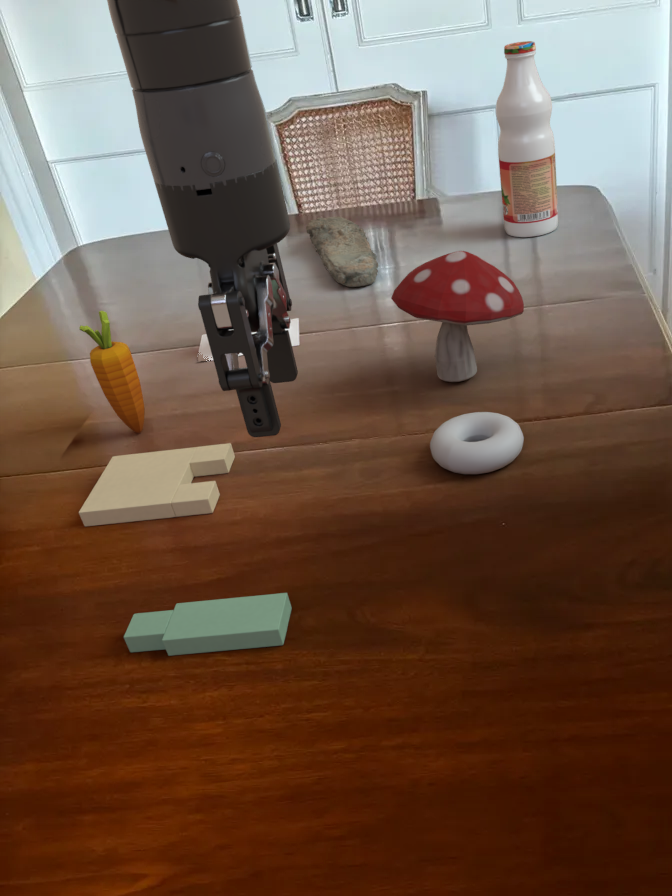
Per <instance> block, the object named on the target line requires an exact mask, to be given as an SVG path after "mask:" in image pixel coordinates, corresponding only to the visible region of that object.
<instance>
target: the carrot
mask: <svg viewBox="0 0 672 896" xmlns="http://www.w3.org/2000/svg"><path fill="white" fill-rule="evenodd" d="M98 317H99V321H100V324H101V332H100V331H99V329H95V331H94V330H93V328H91V327H90V326H89V325H80V326H79V331H80V332H83V333H85V334H87V335H88V336H89V337H90V338H91V339H92V340H93V341H94V342H95V343H96V345H97V346H95V347H93V348H92V349H91V350H90V352H89V359H90V365H91V368H92V370H93V373H94V375H95V377H96V380H97V381H98V384H99V386H100V388H101V391H102V393H103V395H104V397H105V398H106V400H107V402H108V403H109V405H110V407H111V408H112V409H113V411H114V413H115V414H116V415H117V416H118V418H119V419H120V420H121V422H122V423H123V424H124V425H125V426H127V428H129V429H130V430H131V431H132V432H134V433H136V434H138V435H140V434H141V433H142V432H143V430H144V424H145V411H146V410H145V402H144V401H145V400H144V395H143V389H142V386H141V381H140V376H139V373H138V370H137V366H136V364H135V361H134V358H133V355H132V352H131V349H130V347H129V345H128V344H127V343H125V342H121V341H112V334H111V326H110V324H111V322H110V319H109V316H108V312H107V311H104V310H99V311H98Z"/></svg>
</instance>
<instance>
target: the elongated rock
mask: <svg viewBox="0 0 672 896" xmlns="http://www.w3.org/2000/svg"><path fill="white" fill-rule="evenodd" d="M305 230H306V234H309V239H310V240H311V244H312V245H313V246H314V247H313V248H314V249H315V253H318V254H319V256H320V258H321V261H322V265H323V266H324V267H325V269H326V270H328V272H329V274H330V276H331V277H332V278H333V279H334V280H335V282H337V284H341V285H342V286H346V287H348V288H350V287H351V288H355V287H356V288H357V287H359V288H360V287H364V286H369V285H372V284H374V283H375V281H376V278H377V276H378V273H379V270H378V267H379V264H378V261H377V257H378V256H377V254H376V253H375V252H374V251H373V250H372V248H371V244H370V241H369V240H368V237H367V236H366V231H365V230H364V229H363V228H361V227H360V226H359V224H357V223H355V222H354V221H351V220H349V218H345V217H342V216H329V217H316V219H310V220H309V222H308V223H307V224H306V225H305Z"/></svg>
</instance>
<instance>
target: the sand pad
mask: <svg viewBox="0 0 672 896" xmlns="http://www.w3.org/2000/svg"><path fill="white" fill-rule="evenodd" d="M235 455H236V454H235V452H234V449H233V446H232V443H231V442H229V443H228V442H227V443H220V444H219V443H218V444H211V445H203V446H202V445H200V446H194V447H193V446H192V447H185V448H183V447H182V448H176V449H167V450H166V449H165V450H158V451H157V450H156V451H149V452H139V453H138V452H137V453H132V454H131V453H130V454H121V455H113V456H112V457H111V458H110V460H109V462H108V463H107V465H106V467H105V468H104V470H103V471H102V473H101V475H100V477H99V478H98V480H97V481H96V483H95V485H94V486H93V488H92V489H91V491H90V493H89V495H88V496H87V498H86V500H85V501H84V503H83V504H82V506H81V508H80V509H79V511H78V515H79V517H80V519H81V522H82V524H83V526H84V528H85V527H94V526H95V527H96V526H103V525H113V524H123V523H132V522H141V521H150V520H151V521H152V520H161V519H170V518H178V517H188V516H197V515H199V516H200V515H208V514H213V513H214V511H215V508H216V506H217V503H218V501H219V499H220V496H221V493H220V490H219V488H218V485H217V481H216V480H208V481H201V482H193V480H194V477H195V478H196V477H203V476H204V477H205V476H213V475H214V476H215V475H222V474H223V475H224V474H229V473H230V471H231V468H232V465H233V463H234V460H235V458H236V456H235Z"/></svg>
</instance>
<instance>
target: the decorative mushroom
mask: <svg viewBox="0 0 672 896" xmlns="http://www.w3.org/2000/svg"><path fill="white" fill-rule="evenodd" d="M390 299H391V300H392V302H393V303H394V304H395V305H396V306H397V308H398V309H399V310H401V311H403V312H405V313H406V314H408V315H409V316H412V317H414V318H415V319H419V320H426V321H433V322H438V323H441V324H440V328H439V330H438V334H437V335H436V344H435V350H434V361H435V369H436V375H437V377H438V378H439V379H440V380H442V381H444V382H449V383H459V382H463V381H467V380H469V379H472V378H473V377H474V376H476V374H477V373H478V366H477V365H478V364H477V359H476V354H475V353H476V352H475V349H474V346H473V344H472V341H471V337H470V334H469V331H468V330H469V329H468V326H476V325H485V324H487V325H488V324H492V323H496V322H502V321H507V320H509V319H512V318H515V317H518V316H520V315H522V314H523V313H524V311H525V303H524V299H523V296H522V294H521V292H520V290H519V288H518V287H517V285H516V284H515V282H514V281H513V280H512V279H511V278H510V277H509V276H508V275H506V274H505V273H504V272H503V271H501V269H499V268H498V267H496V266H495V265H493V264H491V263H490V262H488V261H487V260H485V259H483V258H481V257H480V256H478V255H476V254H474V253H472V252H469V251H465V250H456V251H453V252H450V253H446V254H443V255H440V256H438V257H435V258H433V259H430V260H428V261H425V262H424V263H421V264H420V265H419V266H417V267H415V268H414V269H412V270H411V271H410V272H409V273H407V275H406V276H405V277H404V278H403V279H402V280H401V281H400V283H399V284H398V285H397V286H396V287H395V288H394V289H393V292H392V294H391V297H390Z"/></svg>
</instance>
